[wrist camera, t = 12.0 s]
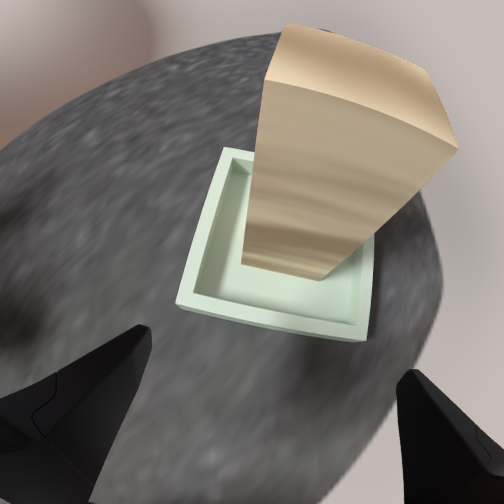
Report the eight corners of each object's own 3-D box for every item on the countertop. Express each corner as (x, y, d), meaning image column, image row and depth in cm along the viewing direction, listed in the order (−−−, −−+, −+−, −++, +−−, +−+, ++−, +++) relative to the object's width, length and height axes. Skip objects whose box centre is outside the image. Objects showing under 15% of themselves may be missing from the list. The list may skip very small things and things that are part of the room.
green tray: (352, 342, 16) (366, 340, 15) (181, 308, 16) (175, 303, 15) (363, 197, 20) (373, 183, 18) (224, 164, 20) (224, 146, 18)
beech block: (318, 281, 17) (459, 148, 5) (240, 264, 17) (264, 79, 5) (325, 225, 19) (425, 70, 6) (253, 208, 19) (286, 22, 6)
